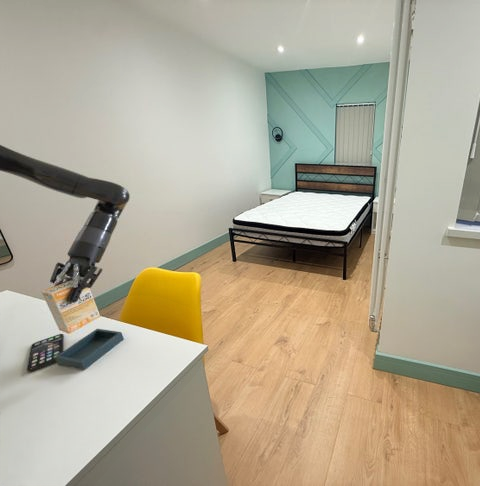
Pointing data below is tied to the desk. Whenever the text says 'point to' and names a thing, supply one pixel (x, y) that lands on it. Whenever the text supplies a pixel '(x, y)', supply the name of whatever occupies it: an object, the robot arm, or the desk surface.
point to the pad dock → (89, 349)
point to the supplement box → (70, 307)
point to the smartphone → (45, 352)
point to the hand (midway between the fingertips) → (62, 300)
